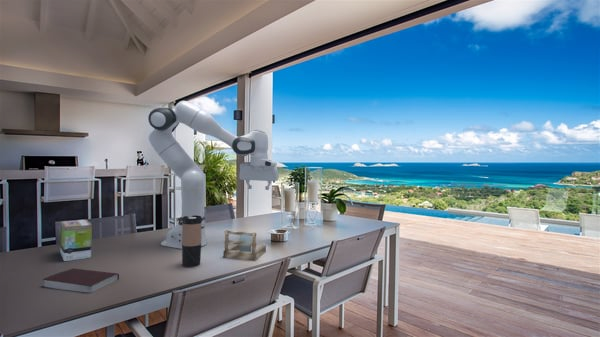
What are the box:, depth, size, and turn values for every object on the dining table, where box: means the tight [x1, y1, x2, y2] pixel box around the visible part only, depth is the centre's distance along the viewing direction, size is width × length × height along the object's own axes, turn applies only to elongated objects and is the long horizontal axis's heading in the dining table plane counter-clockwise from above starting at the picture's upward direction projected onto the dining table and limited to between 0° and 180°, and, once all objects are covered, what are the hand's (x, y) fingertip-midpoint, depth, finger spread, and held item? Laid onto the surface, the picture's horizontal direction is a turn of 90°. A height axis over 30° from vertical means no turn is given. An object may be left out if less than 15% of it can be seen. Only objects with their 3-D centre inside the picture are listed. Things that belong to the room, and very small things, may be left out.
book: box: [42, 267, 120, 294], centre depth 114 cm, size 12×19×3 cm, turn 79°
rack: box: [222, 229, 267, 261], centre depth 152 cm, size 15×15×12 cm
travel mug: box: [181, 215, 202, 268], centre depth 136 cm, size 8×8×20 cm
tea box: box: [59, 219, 93, 262], centre depth 144 cm, size 15×10×15 cm, turn 41°
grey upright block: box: [239, 235, 252, 252], centre depth 152 cm, size 6×6×10 cm
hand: (258, 189), depth 167 cm, fingers open, 8 cm apart
